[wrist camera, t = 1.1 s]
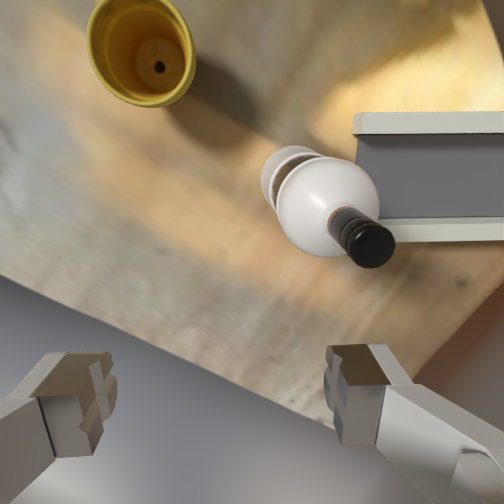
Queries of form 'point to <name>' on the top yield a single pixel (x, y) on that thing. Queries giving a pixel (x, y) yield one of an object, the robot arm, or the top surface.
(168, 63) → the plant pot
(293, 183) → the vodka
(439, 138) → the cradle
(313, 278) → the top surface
